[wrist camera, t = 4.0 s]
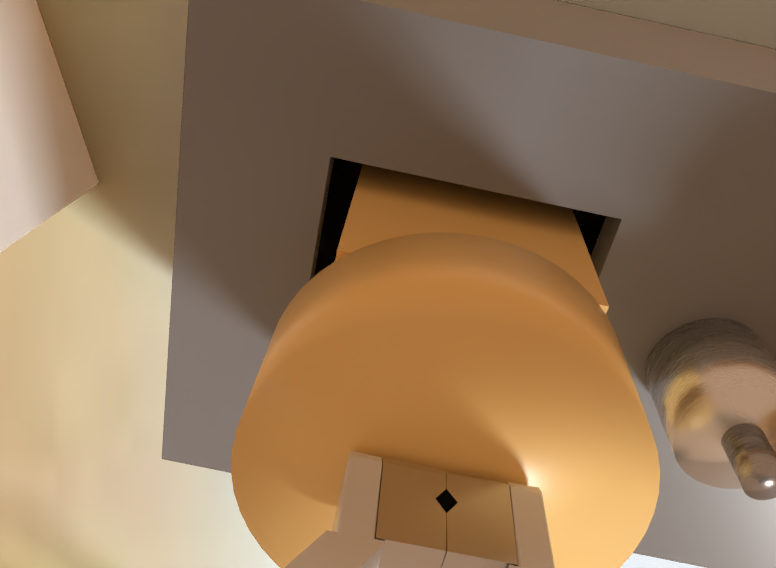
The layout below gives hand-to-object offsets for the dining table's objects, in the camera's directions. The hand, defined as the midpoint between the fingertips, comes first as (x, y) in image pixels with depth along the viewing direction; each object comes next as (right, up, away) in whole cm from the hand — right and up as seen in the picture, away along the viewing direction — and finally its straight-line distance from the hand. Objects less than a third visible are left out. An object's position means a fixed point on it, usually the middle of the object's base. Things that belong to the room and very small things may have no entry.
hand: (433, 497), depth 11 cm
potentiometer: (+6, +1, +5) cm, 8 cm away
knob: (+1, +4, +7) cm, 8 cm away
